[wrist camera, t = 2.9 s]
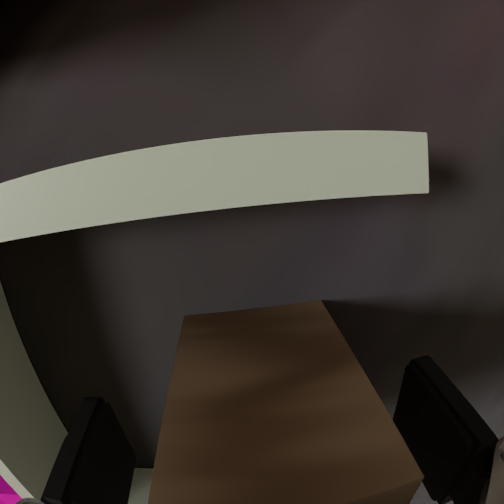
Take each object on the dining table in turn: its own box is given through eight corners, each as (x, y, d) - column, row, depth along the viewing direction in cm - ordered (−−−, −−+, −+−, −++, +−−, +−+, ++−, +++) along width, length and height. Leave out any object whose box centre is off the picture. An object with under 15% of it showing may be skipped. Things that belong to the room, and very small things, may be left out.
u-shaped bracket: (342, 138, 10) (426, 132, 5) (332, 463, 15) (355, 533, 10) (-36, 202, 9) (-118, 231, 5) (79, 471, 14) (59, 532, 10)
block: (320, 299, 12) (424, 476, 4) (319, 398, 13) (374, 554, 6) (184, 315, 12) (145, 518, 4) (206, 412, 13) (203, 578, 5)
